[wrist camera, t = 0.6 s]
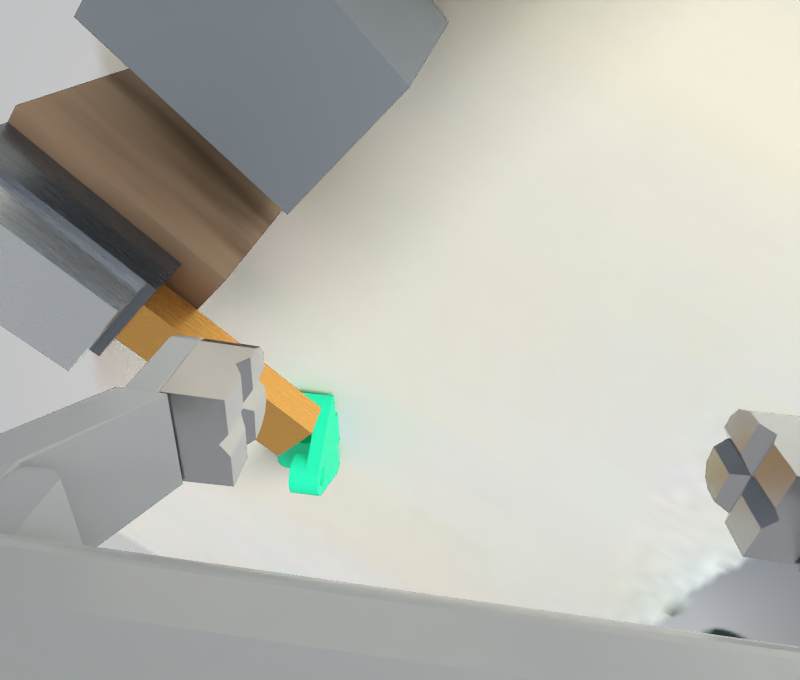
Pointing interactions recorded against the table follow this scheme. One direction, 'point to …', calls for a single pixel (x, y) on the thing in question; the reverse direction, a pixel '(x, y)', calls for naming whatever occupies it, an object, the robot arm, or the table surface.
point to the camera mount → (315, 452)
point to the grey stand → (273, 73)
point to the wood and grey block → (101, 281)
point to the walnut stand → (153, 175)
